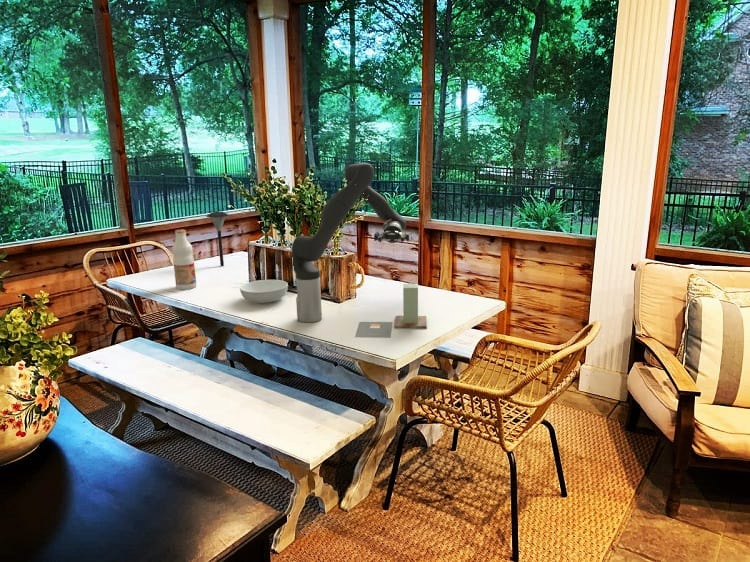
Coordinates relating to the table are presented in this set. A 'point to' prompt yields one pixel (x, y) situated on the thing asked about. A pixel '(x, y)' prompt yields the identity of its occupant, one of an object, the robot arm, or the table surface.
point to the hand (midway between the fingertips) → (391, 239)
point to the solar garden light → (218, 229)
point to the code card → (374, 330)
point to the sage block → (410, 303)
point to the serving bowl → (264, 290)
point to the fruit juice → (183, 262)
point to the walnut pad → (419, 325)
